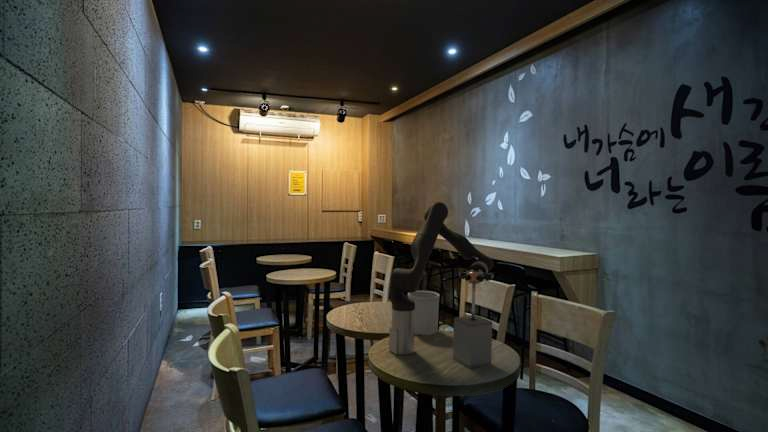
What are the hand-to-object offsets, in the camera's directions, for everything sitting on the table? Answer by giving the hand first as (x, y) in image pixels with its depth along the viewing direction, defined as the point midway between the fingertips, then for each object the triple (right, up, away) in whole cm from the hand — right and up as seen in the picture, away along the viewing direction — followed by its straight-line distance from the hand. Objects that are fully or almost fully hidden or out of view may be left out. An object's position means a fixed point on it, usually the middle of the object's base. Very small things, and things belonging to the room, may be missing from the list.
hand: (473, 278), depth 153 cm
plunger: (0, -21, +3) cm, 21 cm away
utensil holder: (-15, -31, +41) cm, 53 cm away
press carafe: (0, -32, +3) cm, 32 cm away
